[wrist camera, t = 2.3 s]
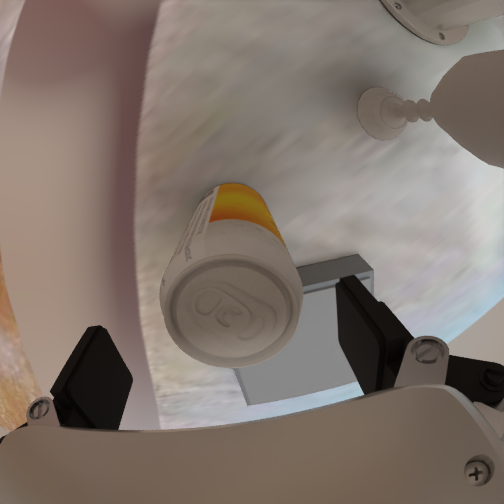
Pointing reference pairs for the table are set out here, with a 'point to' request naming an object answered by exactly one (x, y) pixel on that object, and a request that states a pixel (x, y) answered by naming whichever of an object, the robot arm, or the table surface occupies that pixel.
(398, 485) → the robot arm
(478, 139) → the chalice
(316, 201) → the table surface
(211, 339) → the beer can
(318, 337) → the plinth
